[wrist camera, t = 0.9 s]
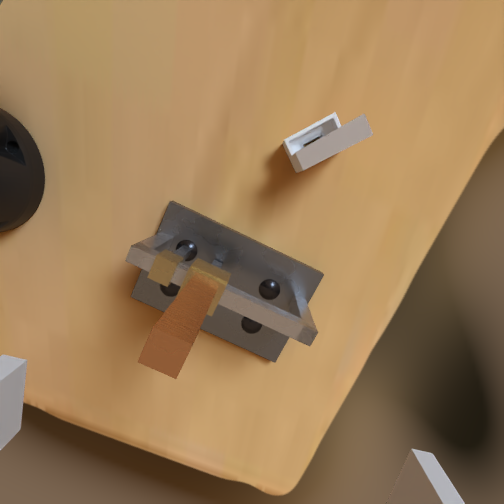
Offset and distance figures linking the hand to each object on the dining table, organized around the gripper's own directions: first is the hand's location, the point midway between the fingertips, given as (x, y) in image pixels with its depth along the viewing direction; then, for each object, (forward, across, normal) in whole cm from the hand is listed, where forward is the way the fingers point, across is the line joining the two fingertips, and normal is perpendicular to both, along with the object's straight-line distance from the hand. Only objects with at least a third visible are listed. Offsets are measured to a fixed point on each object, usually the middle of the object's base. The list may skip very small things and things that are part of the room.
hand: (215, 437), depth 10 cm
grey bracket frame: (+27, -1, -3) cm, 27 cm away
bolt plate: (+28, -1, -5) cm, 28 cm away
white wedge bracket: (+28, +4, +14) cm, 32 cm away
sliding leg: (+26, -3, -2) cm, 27 cm away
